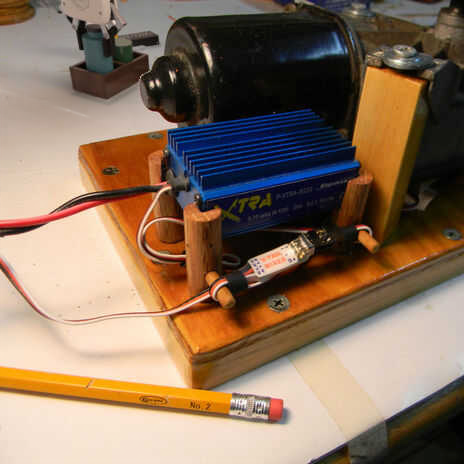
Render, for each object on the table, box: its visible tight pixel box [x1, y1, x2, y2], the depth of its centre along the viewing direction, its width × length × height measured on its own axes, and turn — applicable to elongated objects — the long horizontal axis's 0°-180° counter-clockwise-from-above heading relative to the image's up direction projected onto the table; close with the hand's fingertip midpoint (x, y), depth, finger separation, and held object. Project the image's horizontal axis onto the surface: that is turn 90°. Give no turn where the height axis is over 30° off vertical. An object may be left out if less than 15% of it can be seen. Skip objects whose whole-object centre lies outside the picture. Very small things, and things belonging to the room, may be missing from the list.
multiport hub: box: [118, 30, 160, 48], centre depth 129 cm, size 4×11×2 cm, turn 140°
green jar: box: [112, 38, 134, 64], centre depth 109 cm, size 5×5×8 cm
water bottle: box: [82, 24, 114, 75], centre depth 102 cm, size 5×5×13 cm
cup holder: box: [68, 49, 151, 100], centre depth 107 cm, size 9×16×6 cm, turn 162°
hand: (97, 51), depth 101 cm, fingers closed on water bottle, 5 cm apart
